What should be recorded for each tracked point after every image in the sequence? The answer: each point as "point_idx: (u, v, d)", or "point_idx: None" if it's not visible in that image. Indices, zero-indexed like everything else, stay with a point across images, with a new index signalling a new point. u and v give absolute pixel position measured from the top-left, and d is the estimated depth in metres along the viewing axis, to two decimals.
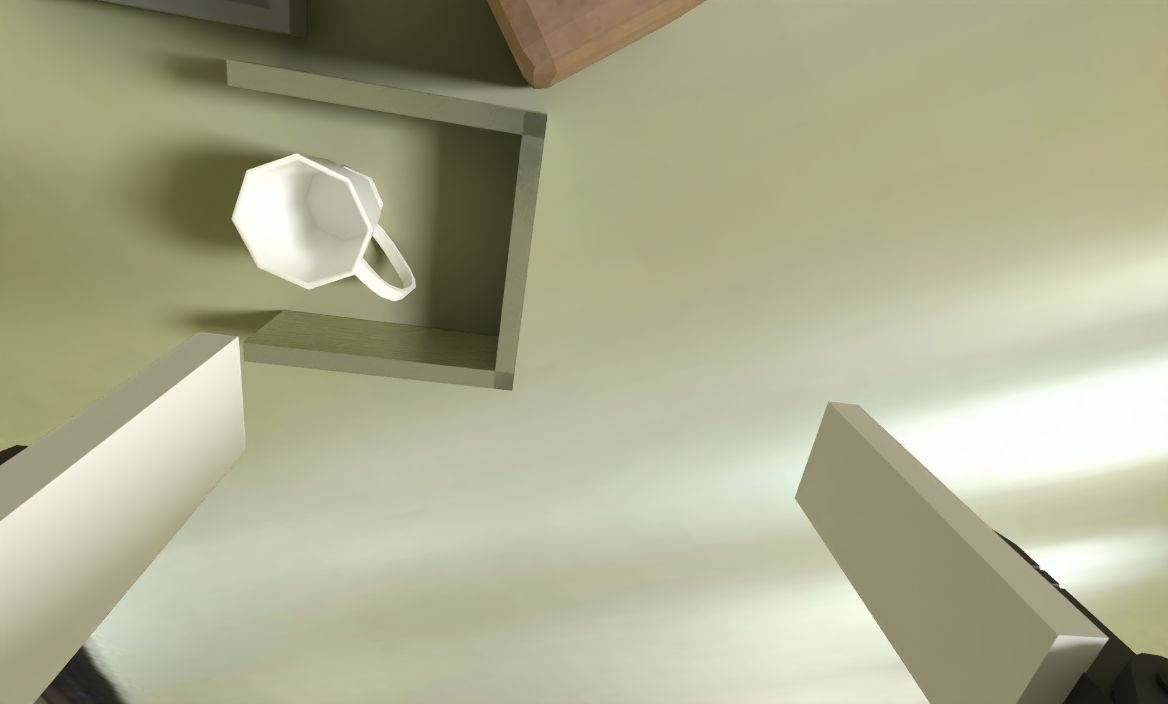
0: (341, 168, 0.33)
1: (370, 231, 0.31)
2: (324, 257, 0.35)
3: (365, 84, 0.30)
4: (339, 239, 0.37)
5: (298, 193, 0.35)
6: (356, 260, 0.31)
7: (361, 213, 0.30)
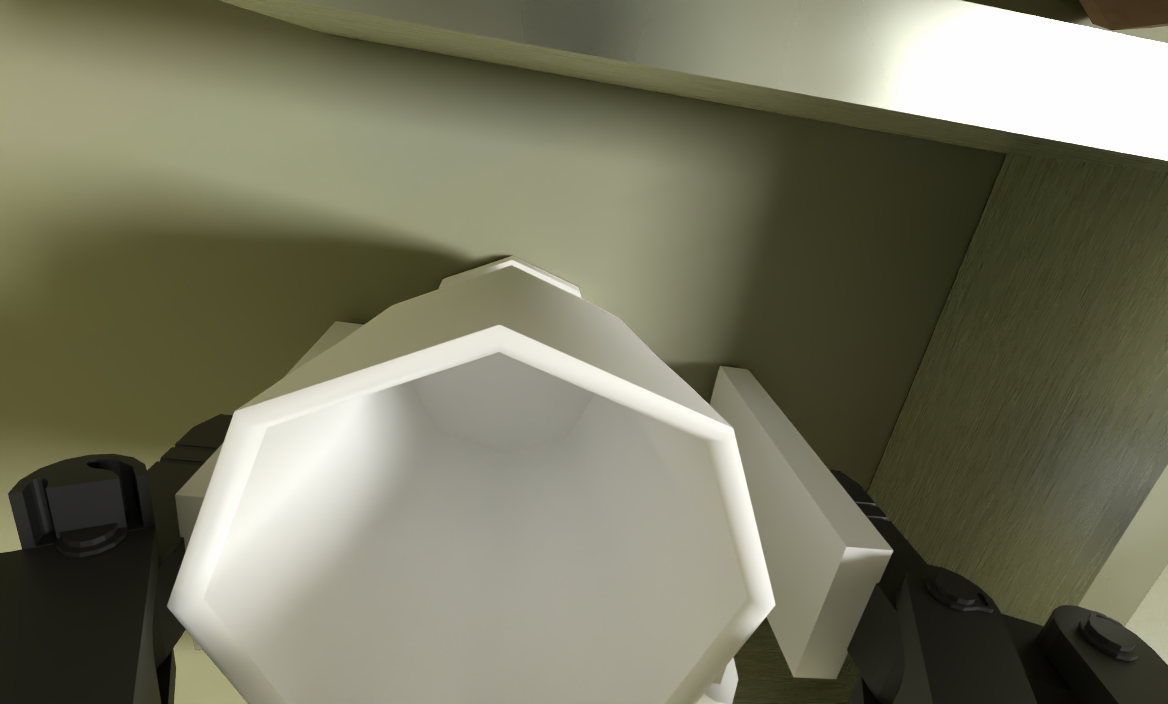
0: (575, 307, 0.09)
1: (766, 612, 0.07)
2: (484, 562, 0.11)
3: None
4: (494, 458, 0.14)
5: None
6: (684, 703, 0.08)
7: (748, 554, 0.07)
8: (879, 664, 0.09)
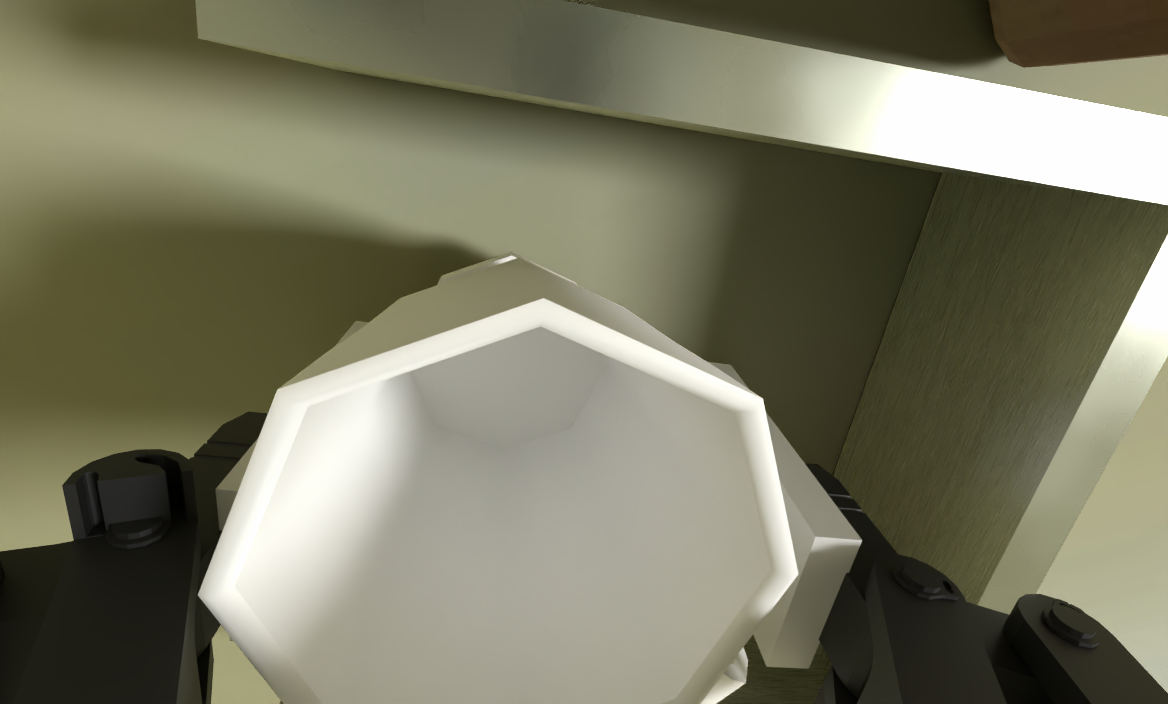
0: (587, 295, 0.09)
1: (790, 581, 0.07)
2: (495, 554, 0.11)
3: (717, 34, 0.08)
4: (496, 453, 0.14)
5: None
6: (710, 677, 0.08)
7: (773, 524, 0.07)
8: (849, 654, 0.09)
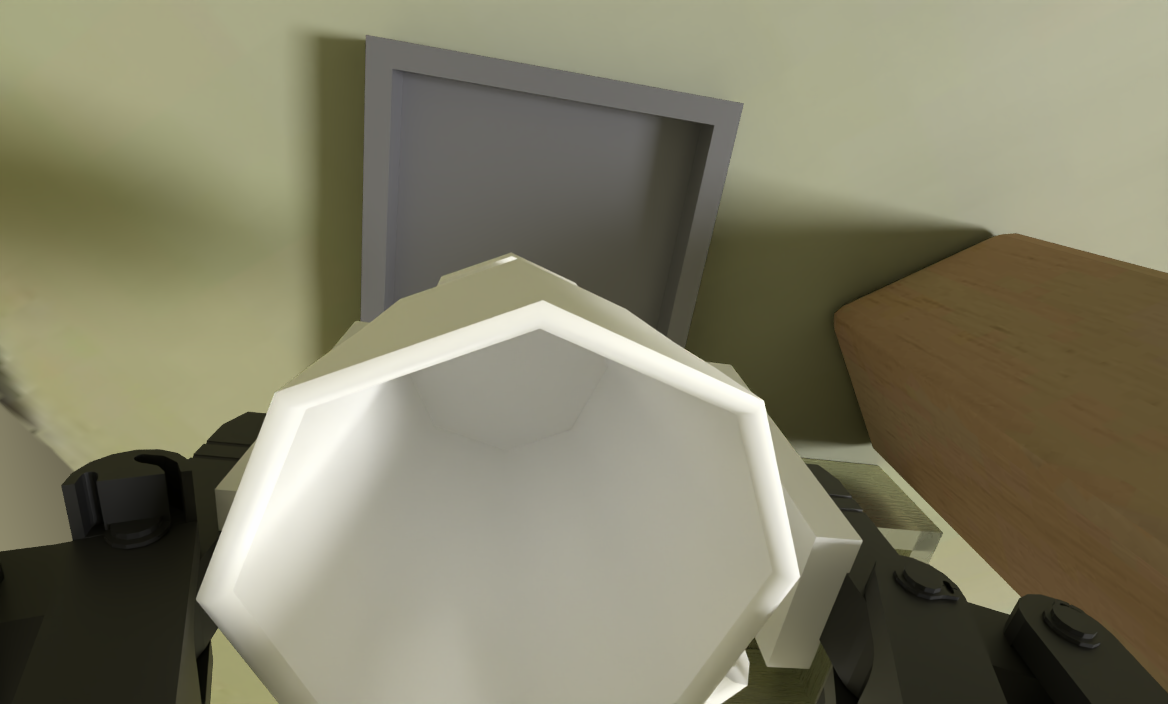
0: (587, 296, 0.09)
1: (792, 584, 0.07)
2: (495, 557, 0.11)
3: None
4: (496, 455, 0.13)
5: None
6: (711, 680, 0.08)
7: (775, 526, 0.07)
8: (850, 654, 0.09)
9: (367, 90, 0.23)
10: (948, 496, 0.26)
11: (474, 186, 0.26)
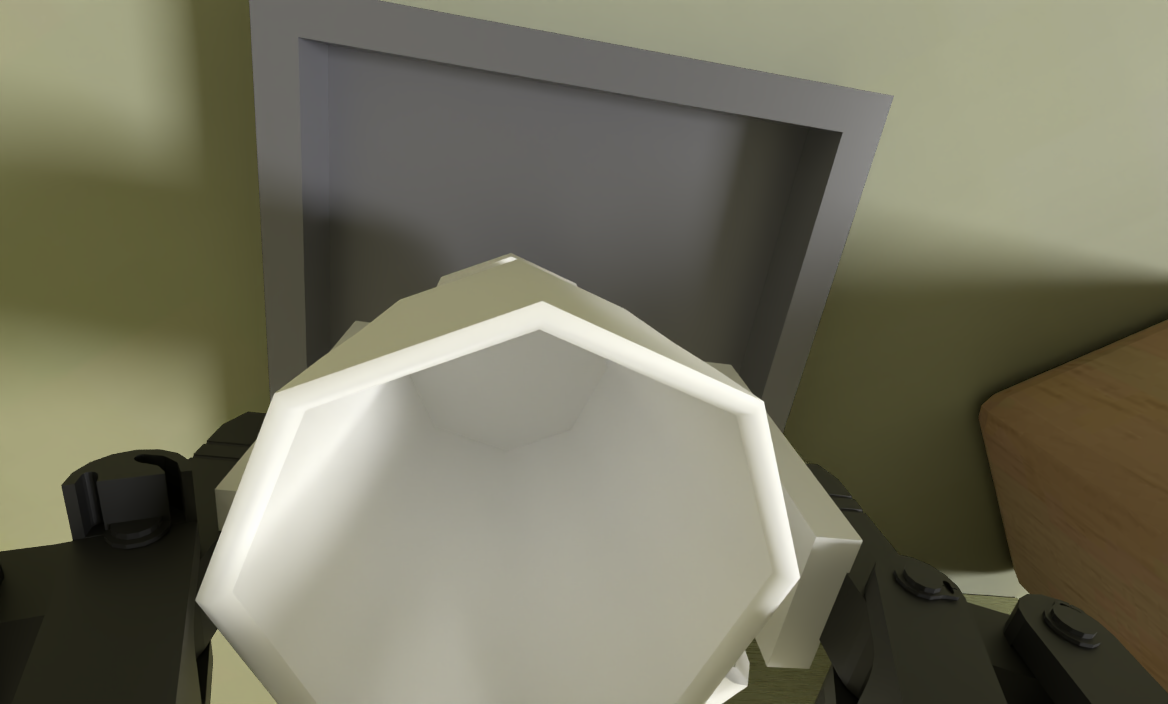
0: (587, 297, 0.09)
1: (792, 585, 0.07)
2: (495, 557, 0.11)
3: None
4: (495, 455, 0.13)
5: None
6: (711, 681, 0.08)
7: (775, 527, 0.07)
8: (849, 654, 0.09)
9: (257, 75, 0.13)
10: None
11: (450, 227, 0.17)
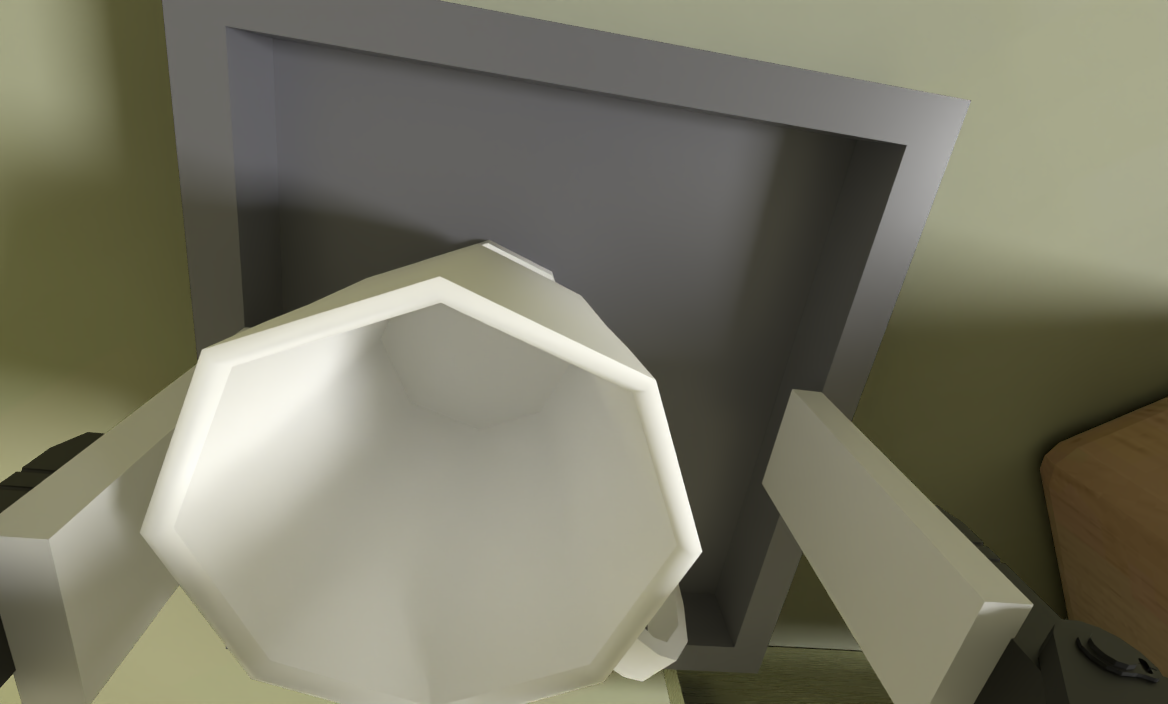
0: (534, 281, 0.10)
1: (693, 558, 0.08)
2: (450, 525, 0.12)
3: None
4: (467, 432, 0.14)
5: (373, 330, 0.12)
6: (620, 645, 0.08)
7: (674, 501, 0.07)
8: None
9: (174, 74, 0.10)
10: None
11: (427, 258, 0.14)
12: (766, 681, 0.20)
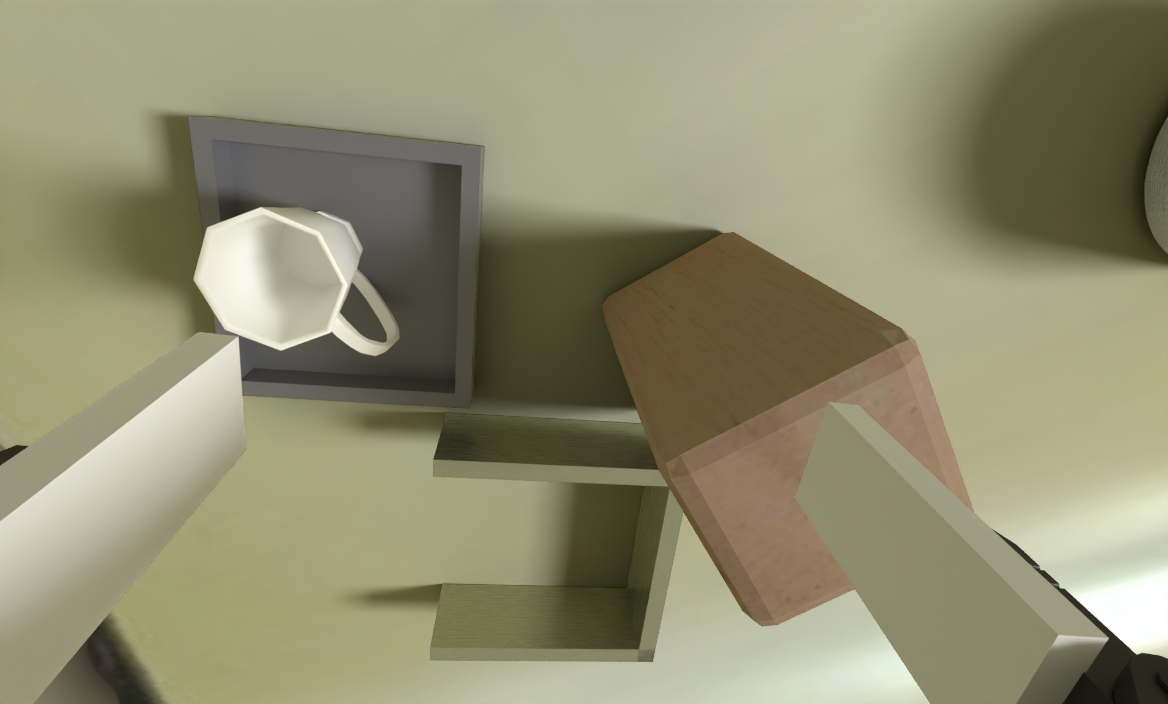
0: (313, 217, 0.30)
1: (345, 286, 0.28)
2: (299, 311, 0.32)
3: (544, 465, 0.36)
4: (316, 289, 0.35)
5: (270, 243, 0.33)
6: (331, 317, 0.29)
7: (334, 268, 0.28)
8: None
9: (194, 155, 0.31)
10: None
11: None
12: (489, 425, 0.40)
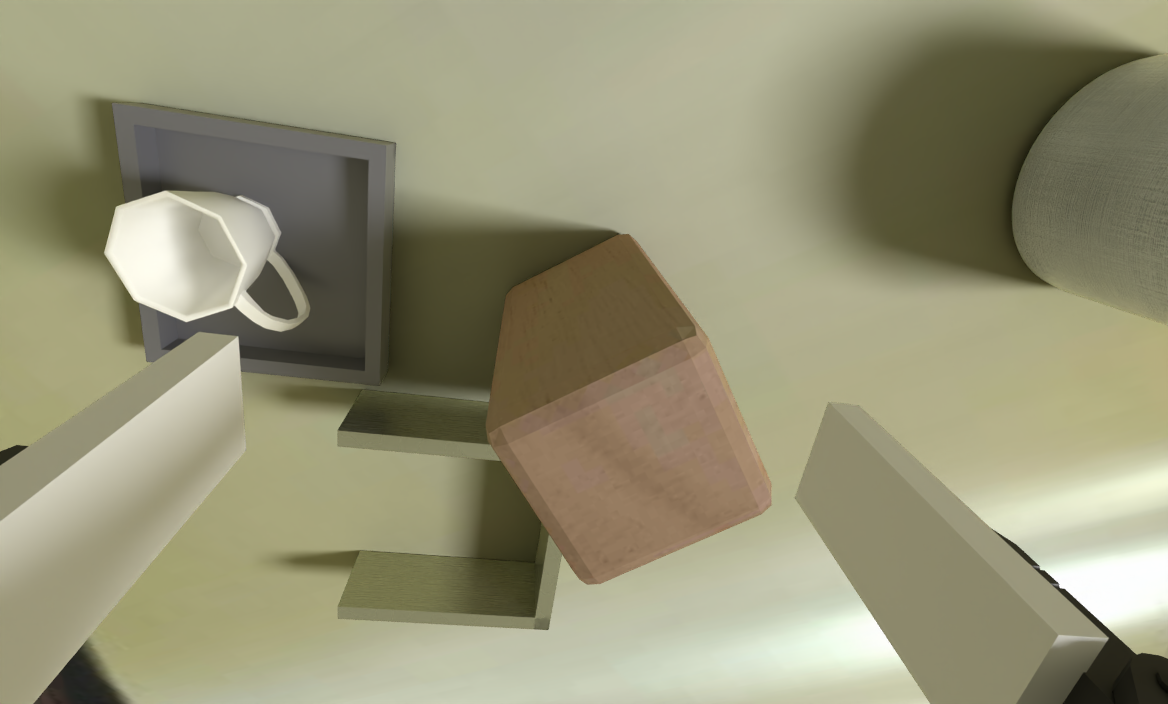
0: (224, 201, 0.33)
1: (244, 266, 0.31)
2: (212, 287, 0.35)
3: (441, 441, 0.39)
4: (234, 268, 0.37)
5: (188, 223, 0.35)
6: (232, 294, 0.32)
7: (234, 249, 0.31)
8: None
9: (118, 138, 0.34)
10: None
11: None
12: (400, 402, 0.43)
